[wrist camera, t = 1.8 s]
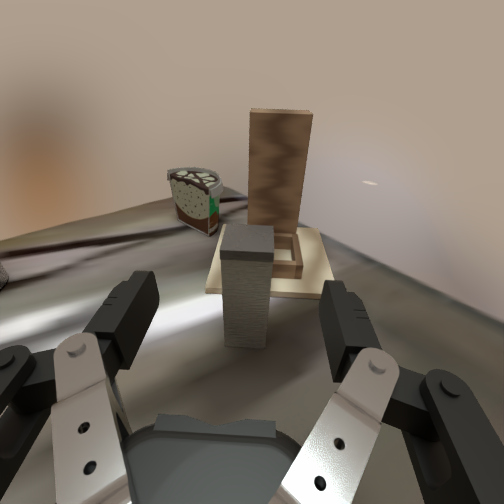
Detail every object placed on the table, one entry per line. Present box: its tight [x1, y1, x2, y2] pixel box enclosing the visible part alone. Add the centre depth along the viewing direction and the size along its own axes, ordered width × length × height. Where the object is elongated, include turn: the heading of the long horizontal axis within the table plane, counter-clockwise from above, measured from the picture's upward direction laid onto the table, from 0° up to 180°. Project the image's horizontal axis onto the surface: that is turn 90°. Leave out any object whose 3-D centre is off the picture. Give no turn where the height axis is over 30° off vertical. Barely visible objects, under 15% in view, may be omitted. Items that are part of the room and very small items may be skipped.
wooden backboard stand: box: [205, 108, 334, 299], centre depth 38 cm, size 18×18×21 cm
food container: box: [167, 167, 223, 237], centre depth 50 cm, size 12×6×10 cm, turn 50°
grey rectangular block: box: [219, 224, 274, 349], centre depth 28 cm, size 5×5×13 cm
